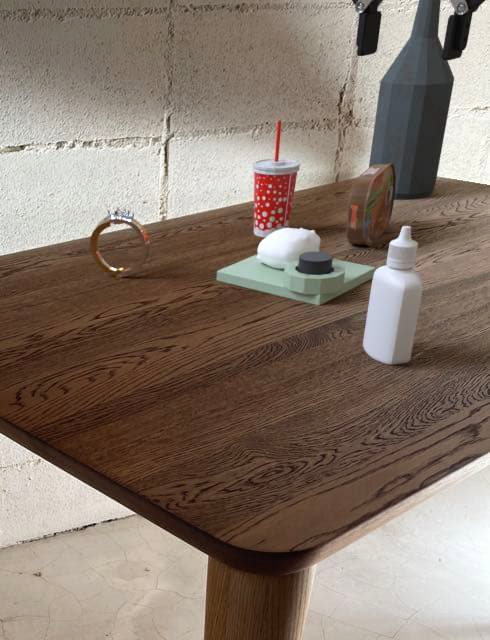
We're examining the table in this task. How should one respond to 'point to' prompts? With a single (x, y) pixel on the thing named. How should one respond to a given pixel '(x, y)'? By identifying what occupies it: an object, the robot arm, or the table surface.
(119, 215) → the ring
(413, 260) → the eye dropper bottle
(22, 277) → the table surface
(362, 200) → the tin
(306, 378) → the table surface
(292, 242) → the garlic
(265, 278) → the scale
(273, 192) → the beverage cup
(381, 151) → the bottle
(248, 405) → the table surface
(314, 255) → the button
